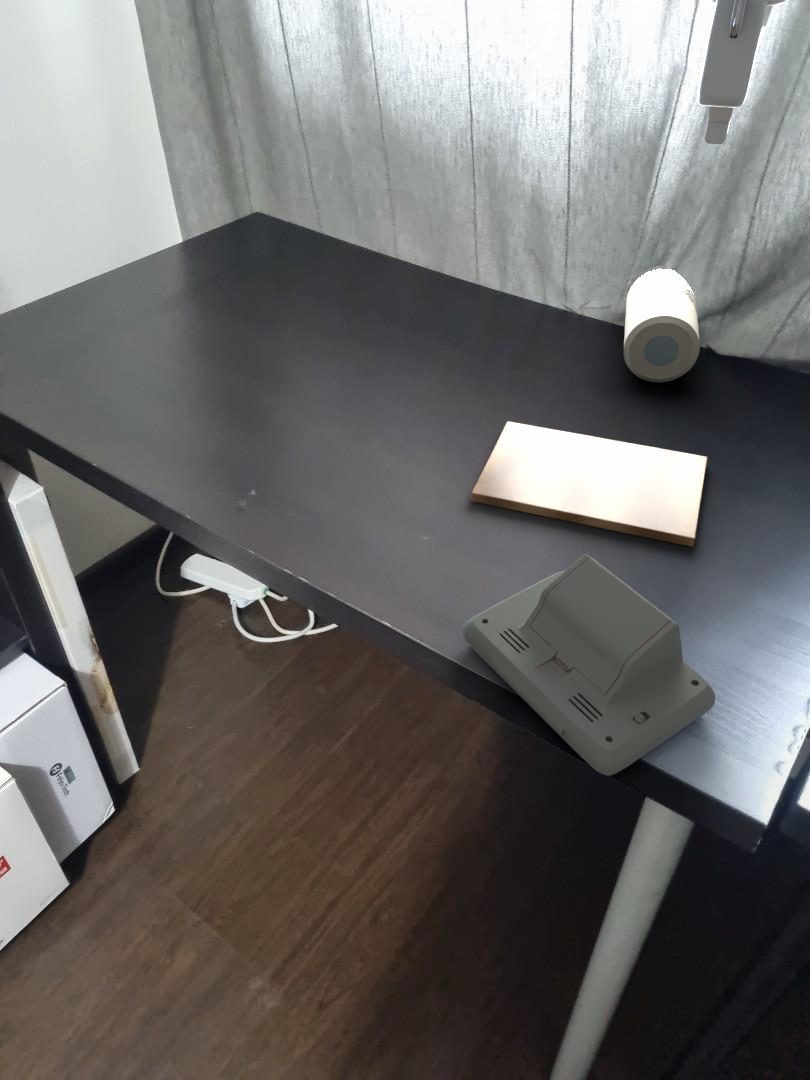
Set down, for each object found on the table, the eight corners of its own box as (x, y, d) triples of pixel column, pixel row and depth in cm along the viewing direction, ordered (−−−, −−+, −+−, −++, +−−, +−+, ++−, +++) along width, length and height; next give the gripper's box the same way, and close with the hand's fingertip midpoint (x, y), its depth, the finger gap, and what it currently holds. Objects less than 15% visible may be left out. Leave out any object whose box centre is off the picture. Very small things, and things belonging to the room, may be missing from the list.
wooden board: (705, 464, 81) (707, 456, 80) (692, 547, 71) (695, 538, 71) (506, 428, 86) (507, 420, 85) (470, 501, 77) (471, 492, 76)
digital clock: (560, 568, 68) (463, 651, 66) (557, 514, 60) (447, 606, 59) (715, 712, 60) (610, 810, 59) (735, 672, 53) (614, 783, 51)
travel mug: (609, 344, 91) (614, 278, 104) (649, 396, 94) (650, 325, 107) (673, 303, 86) (671, 239, 100) (714, 358, 89) (706, 289, 102)
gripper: (796, -34, 57) (746, 177, 66) (797, -61, 71) (757, 114, 80) (700, -36, 58) (665, 170, 67) (721, -62, 73) (690, 110, 82)
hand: (715, 139), depth 74 cm, fingers closed
